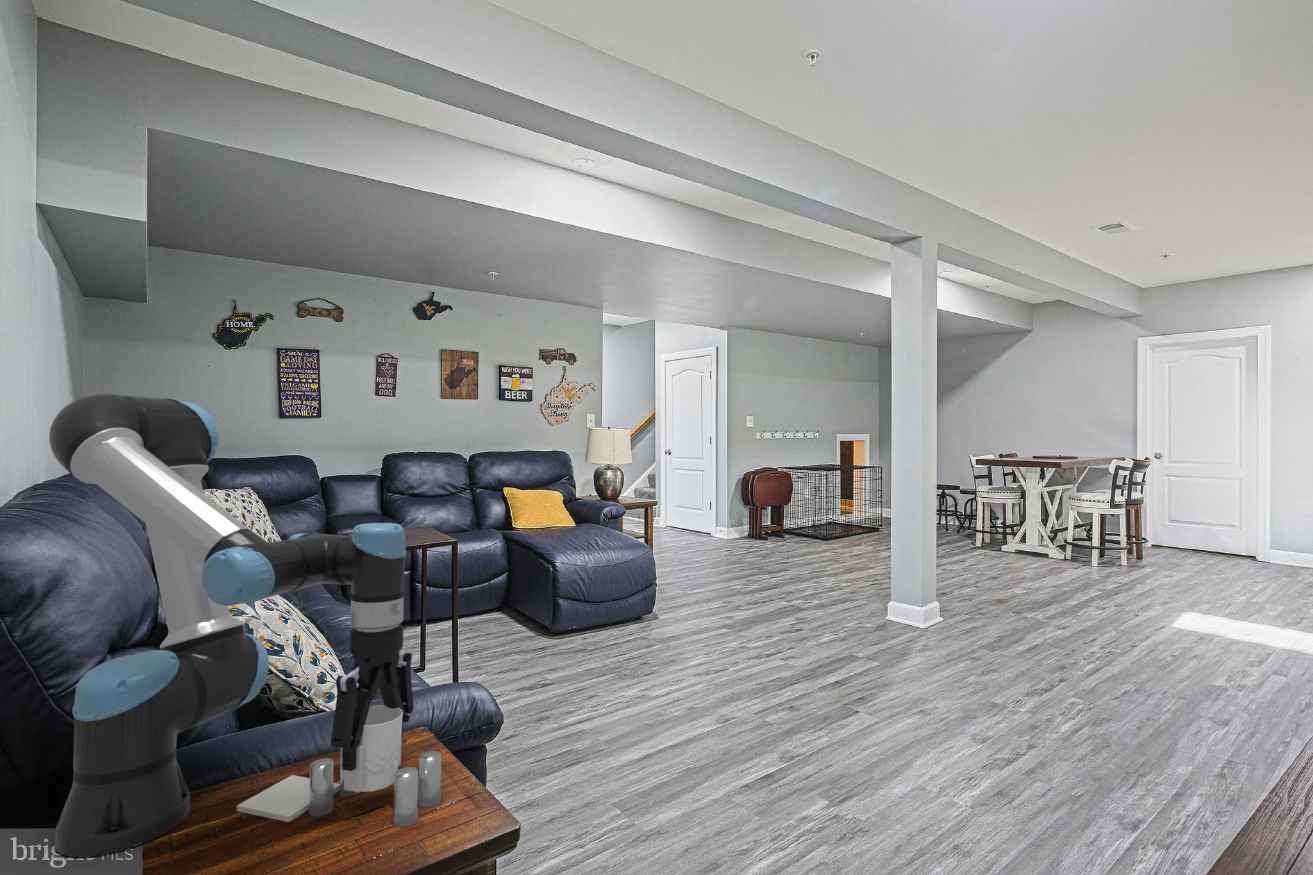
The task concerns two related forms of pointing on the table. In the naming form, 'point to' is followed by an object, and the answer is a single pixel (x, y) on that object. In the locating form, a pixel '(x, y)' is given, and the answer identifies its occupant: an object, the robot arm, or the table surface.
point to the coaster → (282, 799)
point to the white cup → (381, 747)
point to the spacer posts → (402, 787)
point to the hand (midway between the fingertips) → (373, 776)
